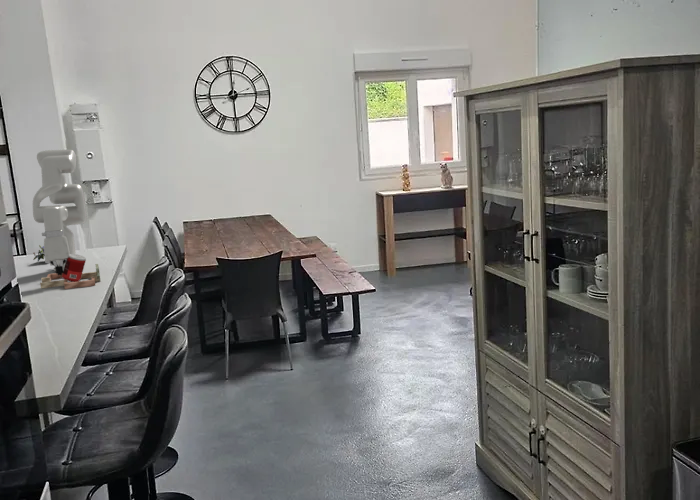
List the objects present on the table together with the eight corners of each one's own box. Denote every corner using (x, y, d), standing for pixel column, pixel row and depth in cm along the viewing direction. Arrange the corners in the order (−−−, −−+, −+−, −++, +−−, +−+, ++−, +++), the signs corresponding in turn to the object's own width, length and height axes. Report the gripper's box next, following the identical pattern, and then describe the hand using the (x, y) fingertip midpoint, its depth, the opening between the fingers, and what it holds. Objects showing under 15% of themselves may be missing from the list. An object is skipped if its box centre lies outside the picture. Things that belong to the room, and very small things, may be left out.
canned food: (83, 281, 296) (89, 259, 295) (71, 282, 289) (77, 259, 287) (70, 275, 298) (76, 253, 297) (57, 276, 291) (64, 253, 289)
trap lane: (39, 292, 276) (38, 278, 275) (43, 279, 303) (41, 267, 302) (101, 284, 285) (99, 271, 284) (99, 273, 312) (97, 261, 311)
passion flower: (54, 271, 352) (56, 255, 345) (31, 270, 347) (33, 254, 340) (54, 257, 360) (56, 241, 353) (32, 256, 355) (34, 240, 348)
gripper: (35, 236, 282) (41, 278, 284) (72, 233, 287) (77, 274, 290) (37, 235, 289) (42, 275, 291) (73, 232, 294) (77, 271, 297)
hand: (59, 274), depth 290 cm, fingers closed
